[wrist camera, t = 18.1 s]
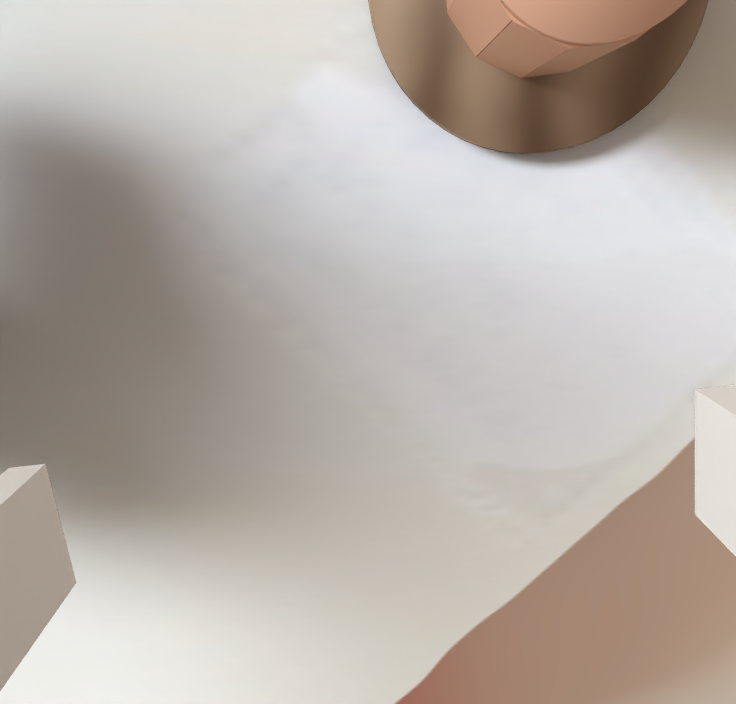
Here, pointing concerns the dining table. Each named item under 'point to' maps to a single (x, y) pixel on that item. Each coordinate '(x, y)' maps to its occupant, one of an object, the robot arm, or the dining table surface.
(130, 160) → the dining table surface
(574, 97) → the walnut board
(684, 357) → the dining table surface
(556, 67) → the tan domed cylinder
